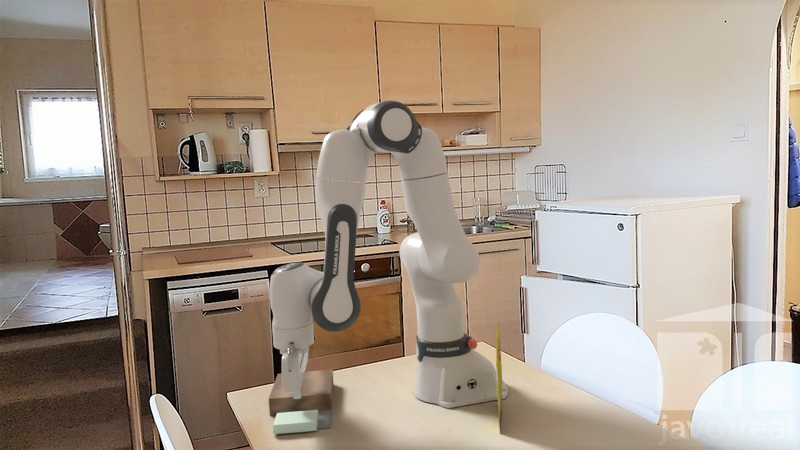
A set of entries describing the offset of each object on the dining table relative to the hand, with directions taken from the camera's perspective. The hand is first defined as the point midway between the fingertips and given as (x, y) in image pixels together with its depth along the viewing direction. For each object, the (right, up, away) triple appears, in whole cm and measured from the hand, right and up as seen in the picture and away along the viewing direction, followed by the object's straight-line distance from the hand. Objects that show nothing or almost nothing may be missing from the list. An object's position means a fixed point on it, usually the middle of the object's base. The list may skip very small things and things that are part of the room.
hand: (297, 396), depth 128 cm
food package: (+45, -4, -4) cm, 45 cm away
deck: (-1, -4, +11) cm, 12 cm away
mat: (+1, -5, -1) cm, 6 cm away
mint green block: (0, -3, -4) cm, 5 cm away
